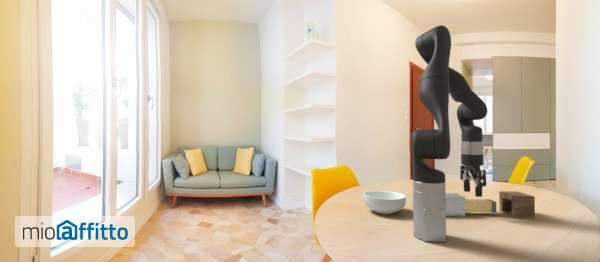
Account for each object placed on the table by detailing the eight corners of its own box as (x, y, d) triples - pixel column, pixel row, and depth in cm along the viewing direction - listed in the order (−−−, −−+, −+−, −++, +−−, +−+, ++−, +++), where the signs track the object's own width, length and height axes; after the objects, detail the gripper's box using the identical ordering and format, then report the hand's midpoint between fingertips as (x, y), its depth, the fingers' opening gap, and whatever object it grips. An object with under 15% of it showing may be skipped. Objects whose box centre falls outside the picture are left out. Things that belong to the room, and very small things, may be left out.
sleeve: (465, 216, 106) (465, 197, 106) (424, 215, 107) (424, 197, 107) (456, 211, 113) (456, 193, 113) (418, 210, 114) (418, 193, 114)
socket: (534, 218, 103) (534, 196, 103) (514, 218, 104) (514, 196, 104) (518, 211, 112) (517, 191, 112) (499, 211, 113) (499, 191, 113)
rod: (496, 212, 106) (496, 201, 106) (431, 211, 109) (431, 201, 109) (490, 209, 111) (489, 199, 111) (427, 208, 113) (427, 198, 113)
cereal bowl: (412, 217, 105) (412, 199, 106) (368, 218, 106) (368, 199, 106) (398, 206, 122) (397, 189, 122) (360, 206, 123) (359, 190, 123)
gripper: (493, 154, 102) (493, 198, 102) (472, 151, 116) (472, 189, 117) (471, 154, 103) (472, 198, 103) (453, 151, 117) (454, 190, 117)
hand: (472, 193), depth 110 cm, fingers open, 8 cm apart
